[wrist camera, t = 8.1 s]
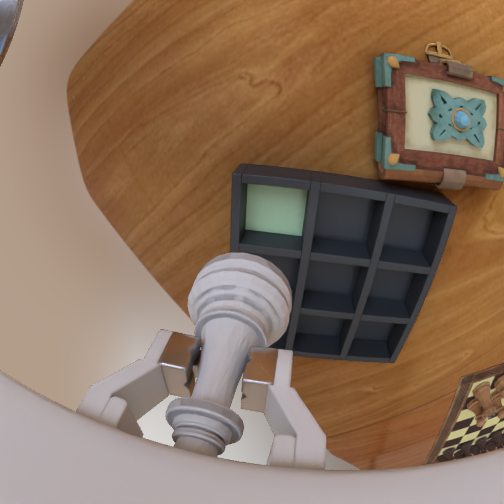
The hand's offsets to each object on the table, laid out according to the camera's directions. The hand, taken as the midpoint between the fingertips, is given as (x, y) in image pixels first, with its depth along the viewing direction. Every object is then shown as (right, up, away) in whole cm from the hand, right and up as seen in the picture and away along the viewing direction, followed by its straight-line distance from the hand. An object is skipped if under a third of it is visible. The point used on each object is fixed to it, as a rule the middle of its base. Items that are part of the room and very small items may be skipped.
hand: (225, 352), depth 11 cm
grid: (+9, +2, +20) cm, 22 cm away
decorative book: (+20, +16, +10) cm, 28 cm away
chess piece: (+1, +2, +3) cm, 4 cm away
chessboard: (+62, -32, +30) cm, 75 cm away
